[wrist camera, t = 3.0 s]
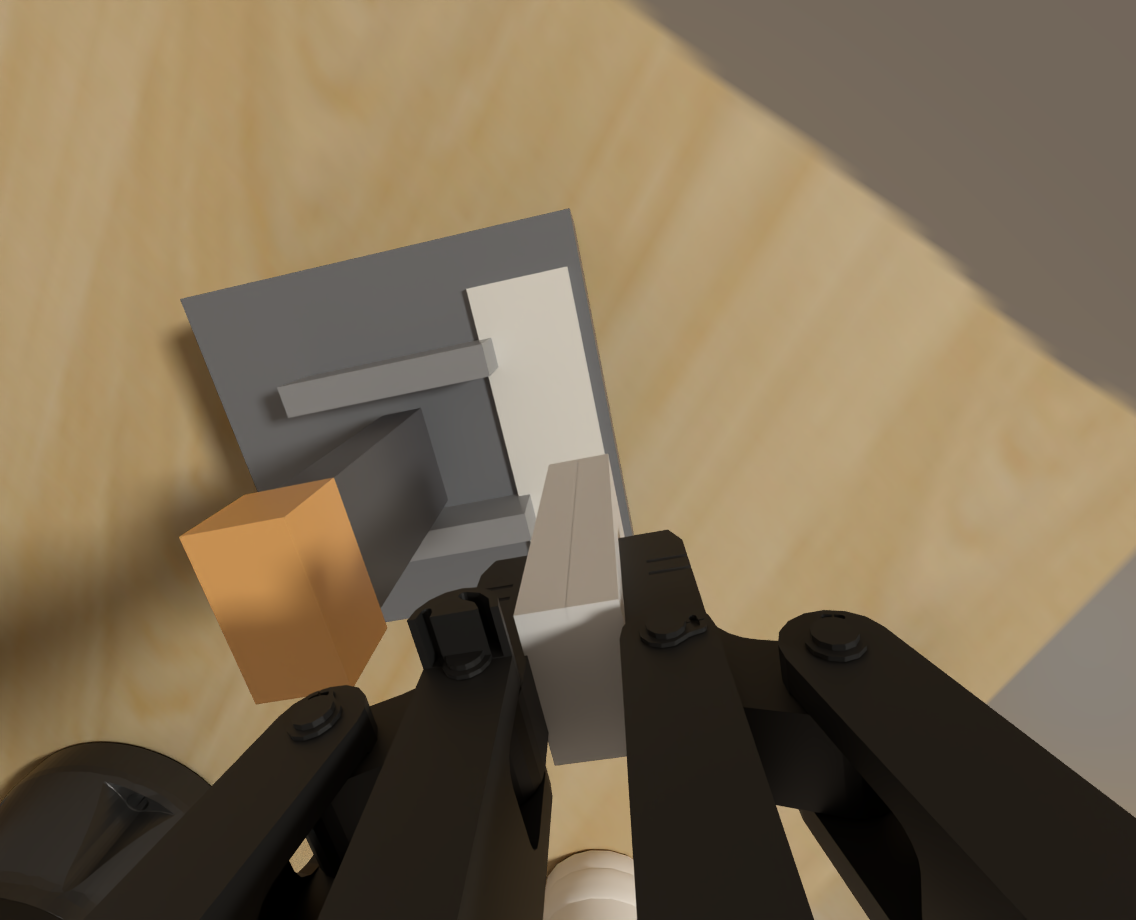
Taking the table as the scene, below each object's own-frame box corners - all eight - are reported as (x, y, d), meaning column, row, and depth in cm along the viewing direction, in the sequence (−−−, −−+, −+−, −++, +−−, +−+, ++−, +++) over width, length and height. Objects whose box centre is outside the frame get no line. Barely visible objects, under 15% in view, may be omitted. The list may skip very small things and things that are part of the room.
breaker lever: (404, 512, 24) (256, 704, 13) (371, 412, 23) (178, 537, 12) (458, 502, 24) (352, 689, 13) (429, 400, 22) (284, 516, 12)
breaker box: (359, 575, 33) (290, 666, 25) (257, 293, 28) (135, 302, 21) (632, 527, 31) (645, 609, 24) (573, 220, 27) (566, 200, 19)
